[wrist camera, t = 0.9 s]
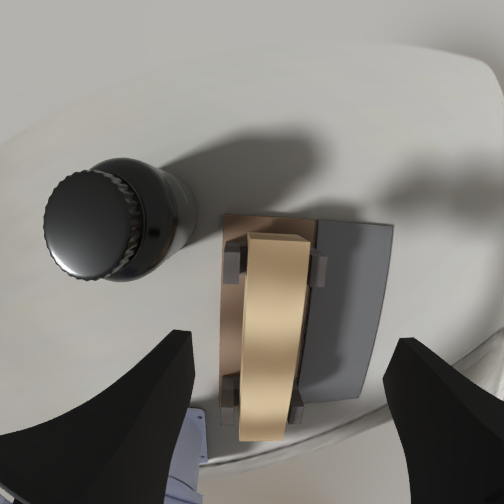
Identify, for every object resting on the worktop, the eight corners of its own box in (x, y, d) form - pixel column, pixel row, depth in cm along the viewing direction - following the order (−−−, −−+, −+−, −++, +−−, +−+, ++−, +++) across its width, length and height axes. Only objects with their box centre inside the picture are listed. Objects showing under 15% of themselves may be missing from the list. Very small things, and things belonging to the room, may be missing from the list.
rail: (277, 413, 23) (282, 440, 19) (238, 414, 23) (239, 441, 19) (297, 234, 20) (310, 242, 17) (247, 232, 20) (250, 238, 16)
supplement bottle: (208, 182, 22) (179, 163, 10) (186, 264, 23) (143, 326, 11) (129, 163, 21) (43, 138, 10) (111, 243, 22) (22, 280, 11)
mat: (357, 395, 27) (358, 397, 26) (294, 401, 26) (295, 403, 26) (390, 226, 24) (392, 226, 23) (317, 219, 23) (318, 220, 23)
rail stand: (289, 401, 26) (299, 438, 21) (219, 401, 26) (217, 439, 20) (311, 219, 23) (334, 225, 18) (224, 214, 23) (221, 218, 17)
